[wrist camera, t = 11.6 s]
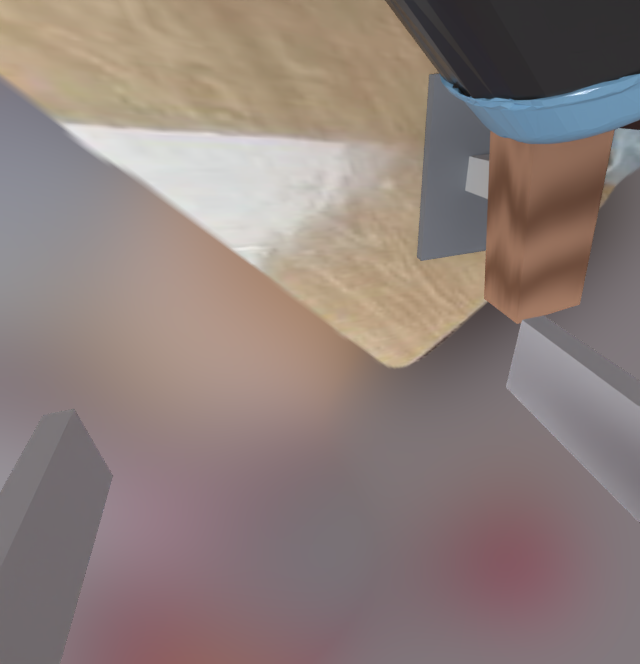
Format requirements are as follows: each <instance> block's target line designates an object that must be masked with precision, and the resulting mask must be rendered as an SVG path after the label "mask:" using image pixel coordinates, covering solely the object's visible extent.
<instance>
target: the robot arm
mask: <svg viewBox="0 0 640 664" xmlns="http://www.w3.org/2000/svg"><path fill="white" fill-rule="evenodd" d="M385 1H386V2H387V4H388V5H389V6H390V8H391V9H392V10H393V12H394V13H395V14H396V16H397V17H398V18H399V20H400V21H401V22H402V24H403V25H404V26H405V28H406V29H407V30H408V32H409V33H410V34H411V36H412V37H413V38H414V40H415V41H416V42H417V44H418V45H419V46H420V48H421V49H422V50H423V52H424V53H425V54H426V56H427V57H428V58H429V60H430V61H431V62H432V64H433V65H434V66H435V68H436V69H437V70H438V72H439V74H440V78H441V82H442V83H443V85H444V86H445V87H446V88H447V90H448V91H449V92H450V93H451V94H453V95H454V96H455V97H457V98H459V99H461V100H463V101H464V102H465V103H466V104H467V106H468V107H469V108H470V109H471V110H472V111H473V113H474V114H475V115H476V116H477V117H478V118H479V120H480V121H481V122H482V123H483V124H484V125H485V126H486V127H487V128H488V129H489V130H490V131H492V132H493V133H495V134H497V135H498V136H500V137H503V138H511V139H513V140H516V141H518V142H523V143H527V144H555V143H563V142H570V141H575V140H580V139H584V138H588V137H592V136H595V135H598V134H602V133H605V132H608V131H612V130H615V129H617V128H620V127H623V126H626V125H628V124H631V123H633V122H636V121H638V120H640V0H385ZM506 388H507V389H508V390H509V391H510V392H511V393H512V394H513V395H514V396H515V397H516V398H517V399H518V400H519V401H520V402H521V403H522V404H523V405H524V406H525V407H526V408H527V409H528V410H529V411H530V412H531V413H532V414H533V415H534V416H535V417H536V418H537V419H538V420H539V421H540V422H541V423H542V424H543V425H544V426H545V427H546V428H547V429H548V430H549V431H550V433H552V435H553V436H554V437H555V438H556V439H557V440H559V442H560V443H561V444H562V445H563V446H564V447H565V448H566V449H567V450H568V451H569V452H570V453H571V454H572V455H573V456H574V457H575V458H576V459H577V460H578V461H579V462H580V463H581V464H582V465H583V466H584V467H585V468H586V469H587V470H588V471H589V472H590V473H591V474H592V475H593V476H594V477H595V478H596V479H597V480H598V481H599V482H600V483H601V484H602V485H603V486H604V487H605V489H606V490H607V491H608V492H609V493H611V495H612V496H613V497H614V498H615V499H616V500H617V501H618V502H619V503H620V504H621V505H622V506H623V507H624V508H625V509H626V510H627V511H628V512H629V513H630V514H631V515H632V516H633V517H634V518H635V519H636V520H637V521H638V522H639V523H640V381H639V380H638V379H637V378H635V377H634V376H632V375H631V374H629V373H628V372H626V371H625V370H624V369H622V368H620V367H619V366H618V365H616V364H615V363H613V362H612V361H610V360H609V359H607V358H606V357H604V356H603V355H601V354H600V353H598V352H597V351H596V350H594V349H593V348H591V347H590V346H588V345H587V344H585V343H584V342H582V341H581V340H579V339H578V338H576V337H575V336H573V335H572V334H570V333H569V332H567V331H566V330H564V329H563V328H562V327H560V326H559V325H557V324H556V323H554V322H553V321H551V320H550V319H548V318H547V317H545V316H539V317H534V318H529V319H524V320H522V322H521V326H520V331H519V335H518V339H517V343H516V347H515V352H514V356H513V360H512V364H511V369H510V373H509V377H508V381H507V385H506ZM112 477H113V475H112V473H111V471H110V470H109V468H108V466H107V464H106V463H105V461H104V459H103V457H102V456H101V454H100V452H99V451H98V449H97V447H96V445H95V444H94V442H93V440H92V439H91V437H90V435H89V433H88V432H87V430H86V428H85V426H84V425H83V423H82V421H81V420H80V418H79V416H78V414H77V413H76V411H75V409H71V410H66V411H61V412H56V413H51V414H46V415H43V416H42V418H41V420H40V421H39V423H38V425H37V427H36V429H35V430H34V432H33V434H32V436H31V438H30V440H29V441H28V443H27V445H26V447H25V449H24V450H23V452H22V454H21V456H20V458H19V459H18V461H17V463H16V465H15V467H14V469H13V470H12V472H11V474H10V476H9V477H8V479H7V481H6V483H5V485H4V487H3V488H2V490H1V492H0V664H60V663H61V659H62V655H63V652H64V648H65V645H66V641H67V638H68V634H69V631H70V627H71V623H72V620H73V616H74V613H75V609H76V605H77V602H78V598H79V595H80V591H81V588H82V584H83V581H84V577H85V574H86V570H87V566H88V563H89V559H90V556H91V552H92V548H93V545H94V541H95V538H96V534H97V531H98V527H99V524H100V520H101V517H102V513H103V509H104V506H105V502H106V499H107V495H108V491H109V488H110V485H111V481H112Z"/></svg>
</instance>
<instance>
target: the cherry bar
mask: <svg viewBox="0 0 640 664" xmlns="http://www.w3.org/2000/svg"><path fill="white" fill-rule="evenodd" d="M613 135H614V130H612V131H608V132H605V133H602V134H598V135H595V136H592V137H588V138H584V139H580V140H575V141H570V142H563V143H555V144H527V143H523V142H518V141H516V140H513V139H511V138H503V137H500V136H498V135H497V134H495V133H493V132H492V131H490V155H489V182H488V209H487V236H486V263H485V290H484V299H485V300H487V301H488V302H489V303H491V304H492V305H493V306H495V307H496V308H497V309H498V310H500V311H501V312H502V313H504V314H505V315H506V316H508V317H509V318H510V319H512V320H513V321H514V322H515V323H517V324H518V323H521V322H522V320H524V319H529V318H534V317H539V316H544V315H547V314H550V313H553V312H556V311H560V310H563V309H566V308H569V307H572V306H576V305H579V304H580V301H581V296H582V291H583V286H584V281H585V276H586V271H587V266H588V260H589V255H590V251H591V246H592V240H593V235H594V231H595V226H596V220H597V215H598V210H599V205H600V200H601V195H602V190H603V185H604V180H605V175H606V170H607V165H608V160H609V155H610V150H611V145H612V140H613Z"/></svg>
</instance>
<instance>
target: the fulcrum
mask: <svg viewBox="0 0 640 664" xmlns="http://www.w3.org/2000/svg"><path fill="white" fill-rule="evenodd" d="M489 155H490V130H489V129H488V128H487V127H486V126H485V125H484V124H483V123H482V122H481V121H480V120H479V118H478V117H477V116H476V115H475V114H474V113H473V111H472V110H471V109H470V108H469V107H468V106H467V104H466V103H465V102H464V101H463V100H461V99H459V98H457V97H455V96H454V95H453V94H451V93H450V92H449V91H448V90H447V88H446V87H445V86H444V85H443V83H442V82H441V78H440V74H431V75H429V87H428V102H427V117H426V132H425V147H424V162H423V177H422V191H421V206H420V221H419V236H418V251H417V258H418V259H420V260H421V261H423V260H429V259H435V258H442V257H448V256H454V255H460V254H467V253H473V252H479V251H485V250H486V236H487V209H488V182H489Z"/></svg>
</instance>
